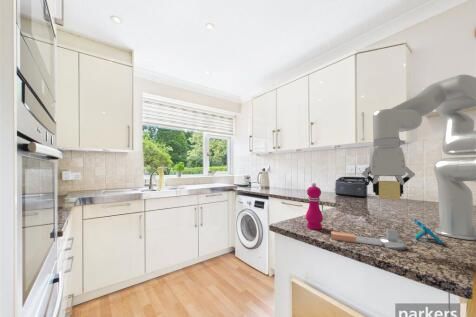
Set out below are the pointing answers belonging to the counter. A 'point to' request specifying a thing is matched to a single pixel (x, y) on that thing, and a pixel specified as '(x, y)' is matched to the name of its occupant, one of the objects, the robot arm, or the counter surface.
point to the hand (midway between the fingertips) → (387, 194)
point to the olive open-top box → (388, 190)
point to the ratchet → (373, 239)
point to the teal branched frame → (425, 232)
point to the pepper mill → (314, 208)
